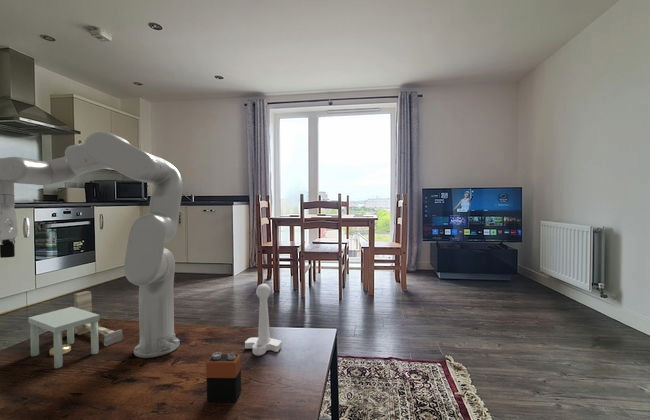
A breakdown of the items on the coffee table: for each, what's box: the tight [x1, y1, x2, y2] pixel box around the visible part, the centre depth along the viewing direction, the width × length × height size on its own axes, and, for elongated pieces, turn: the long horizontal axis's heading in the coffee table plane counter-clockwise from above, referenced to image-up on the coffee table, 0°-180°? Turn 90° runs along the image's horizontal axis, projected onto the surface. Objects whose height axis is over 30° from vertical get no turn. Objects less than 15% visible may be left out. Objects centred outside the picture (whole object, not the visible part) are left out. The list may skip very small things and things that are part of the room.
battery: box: [205, 351, 242, 403], centre depth 71 cm, size 4×7×10 cm, turn 88°
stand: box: [27, 306, 101, 369], centre depth 93 cm, size 17×11×12 cm, turn 62°
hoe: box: [73, 290, 123, 347], centre depth 105 cm, size 21×5×14 cm, turn 62°
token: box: [49, 343, 72, 357], centre depth 95 cm, size 5×5×2 cm
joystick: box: [244, 283, 283, 356], centre depth 94 cm, size 11×8×20 cm
